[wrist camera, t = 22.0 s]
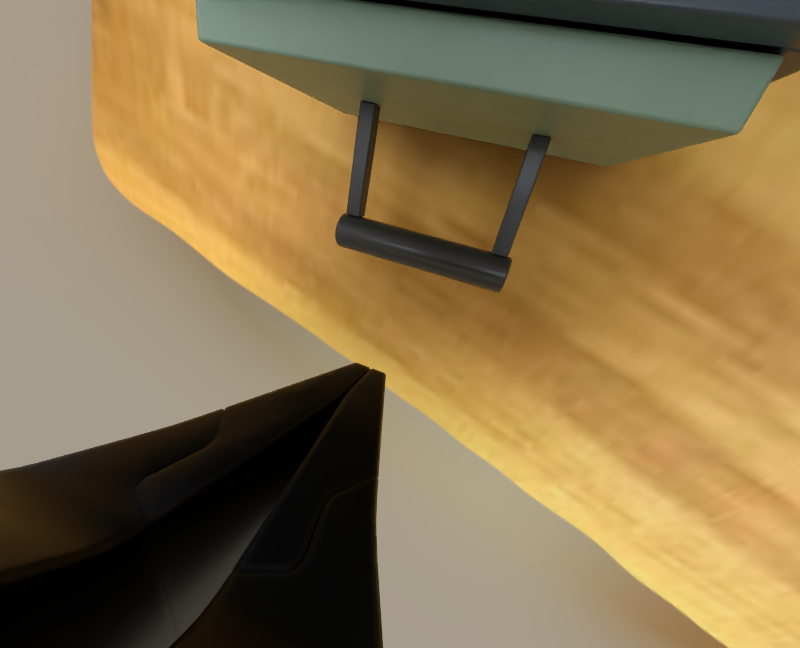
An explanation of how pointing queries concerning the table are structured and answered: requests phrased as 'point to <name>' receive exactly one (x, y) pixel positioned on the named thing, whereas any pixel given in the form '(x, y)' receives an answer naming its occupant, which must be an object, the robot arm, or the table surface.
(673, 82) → the drawer
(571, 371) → the table surface
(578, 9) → the cabinet
